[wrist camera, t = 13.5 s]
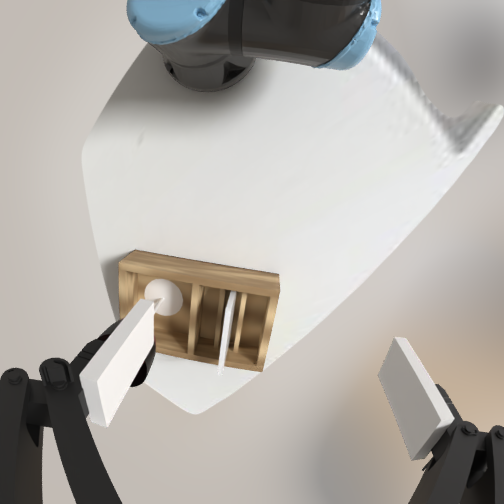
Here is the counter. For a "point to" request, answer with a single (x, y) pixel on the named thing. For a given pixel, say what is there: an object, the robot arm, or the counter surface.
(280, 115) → the counter surface
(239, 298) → the wooden divided tray
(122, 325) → the robot arm
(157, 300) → the wineglass
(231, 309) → the white flat panel
